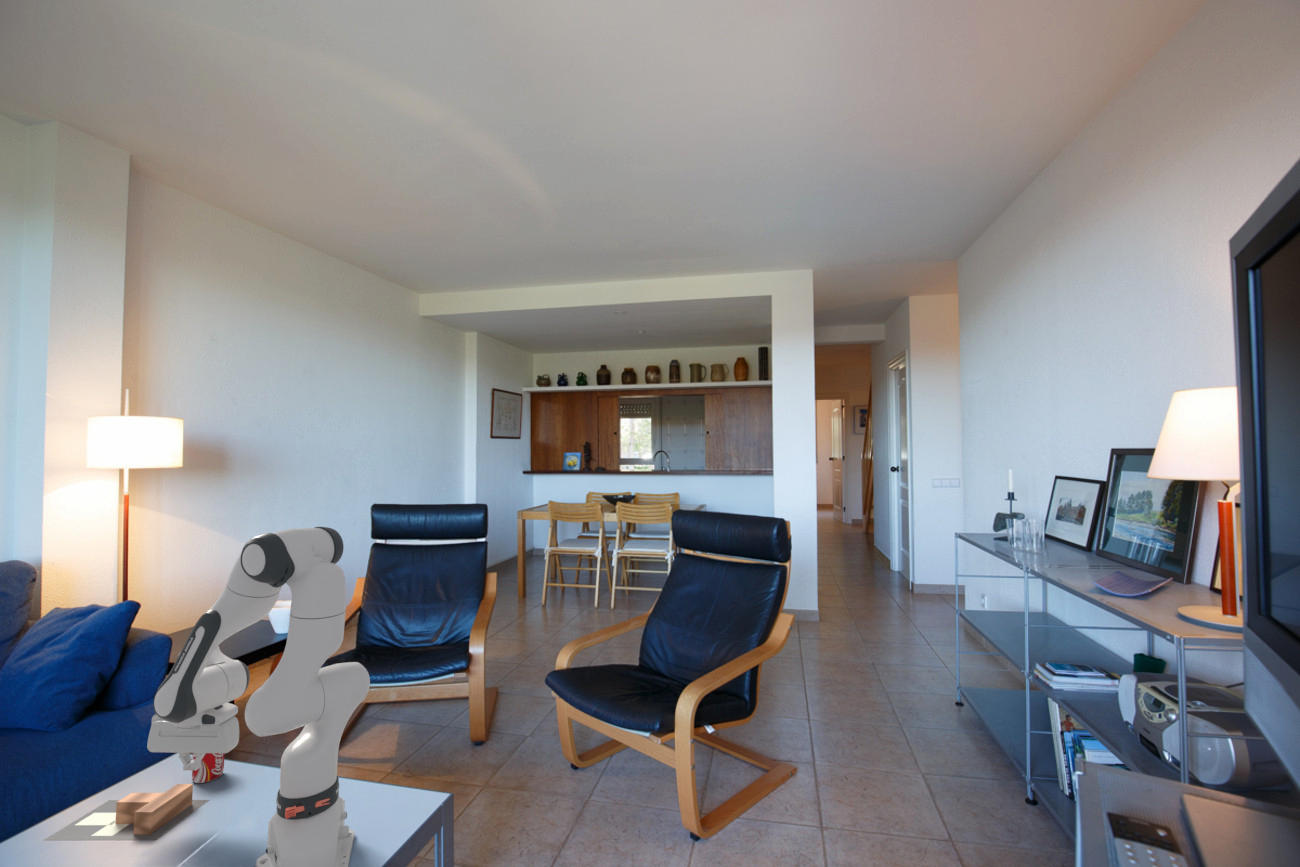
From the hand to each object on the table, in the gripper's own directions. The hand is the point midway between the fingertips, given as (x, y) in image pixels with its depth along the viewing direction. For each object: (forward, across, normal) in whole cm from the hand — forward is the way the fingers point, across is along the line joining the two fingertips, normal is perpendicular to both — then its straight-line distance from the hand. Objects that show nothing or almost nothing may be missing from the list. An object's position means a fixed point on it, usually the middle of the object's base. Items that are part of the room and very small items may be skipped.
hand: (191, 769), depth 140 cm
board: (+12, -14, 0) cm, 19 cm away
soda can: (+13, -10, +18) cm, 24 cm away
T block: (+12, -10, 0) cm, 15 cm away
